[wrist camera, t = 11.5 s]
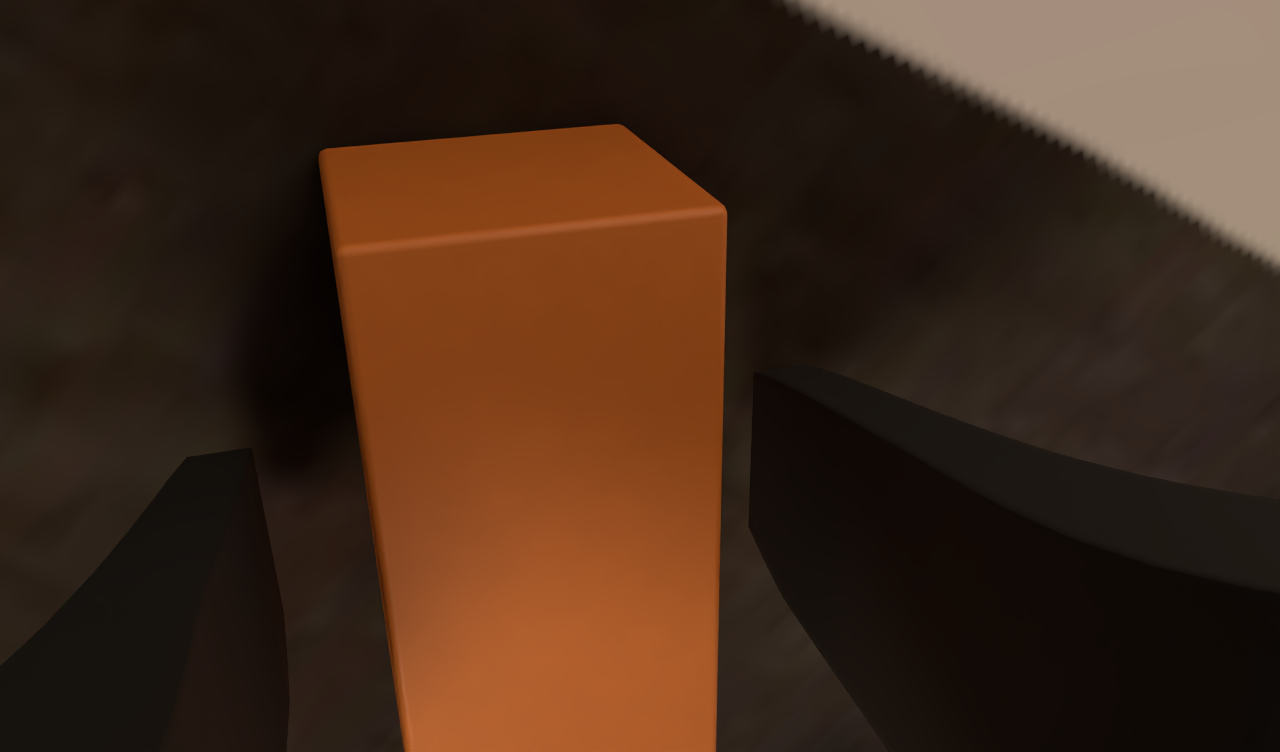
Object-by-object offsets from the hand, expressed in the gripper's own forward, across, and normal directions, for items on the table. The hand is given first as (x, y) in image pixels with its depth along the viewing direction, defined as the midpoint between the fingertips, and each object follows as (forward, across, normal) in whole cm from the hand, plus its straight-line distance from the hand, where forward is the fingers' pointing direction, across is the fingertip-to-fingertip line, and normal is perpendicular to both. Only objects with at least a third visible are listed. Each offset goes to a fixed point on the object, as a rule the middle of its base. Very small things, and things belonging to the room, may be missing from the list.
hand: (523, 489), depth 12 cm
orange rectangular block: (+1, 0, 0) cm, 1 cm away
